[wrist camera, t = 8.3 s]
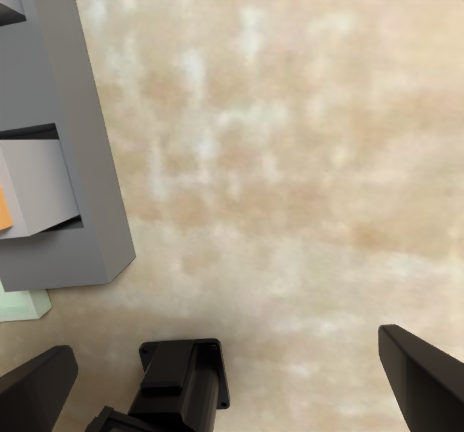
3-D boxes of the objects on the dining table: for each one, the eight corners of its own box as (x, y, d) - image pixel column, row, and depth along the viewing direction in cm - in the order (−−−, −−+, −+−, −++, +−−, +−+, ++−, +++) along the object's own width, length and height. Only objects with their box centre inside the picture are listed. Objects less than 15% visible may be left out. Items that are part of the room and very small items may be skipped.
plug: (80, 139, 18) (-24, 139, 11) (97, 206, 19) (11, 243, 12) (18, 148, 19) (-118, 153, 12) (37, 213, 20) (-77, 251, 13)
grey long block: (135, 256, 21) (107, 285, 17) (49, 265, 22) (2, 294, 18) (48, -116, 16) (-26, -206, 11) (-64, -87, 16) (-169, -161, 12)
